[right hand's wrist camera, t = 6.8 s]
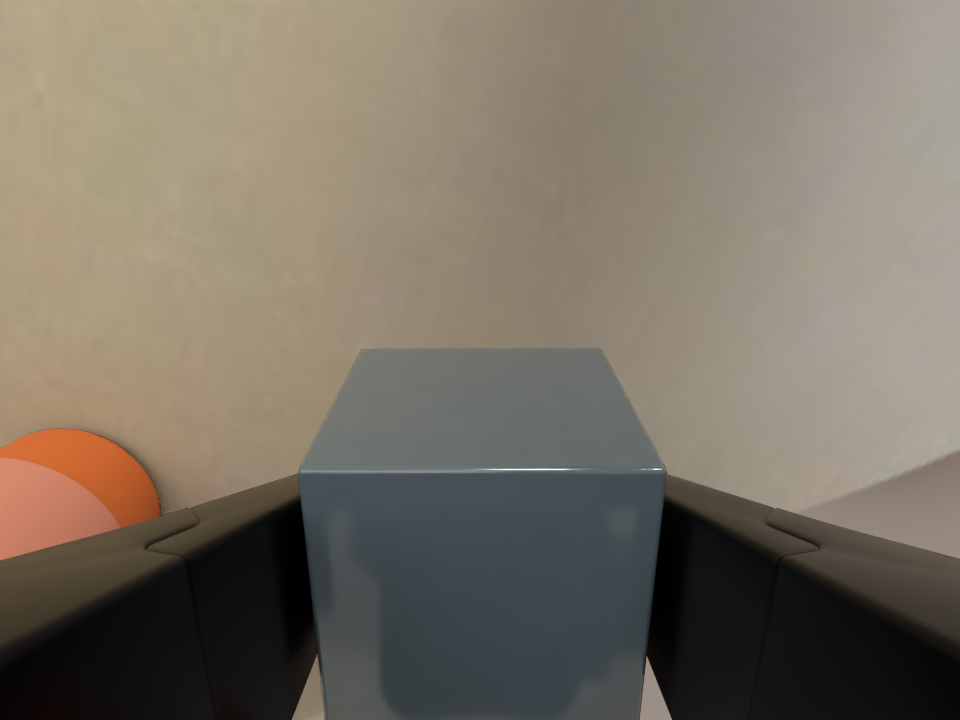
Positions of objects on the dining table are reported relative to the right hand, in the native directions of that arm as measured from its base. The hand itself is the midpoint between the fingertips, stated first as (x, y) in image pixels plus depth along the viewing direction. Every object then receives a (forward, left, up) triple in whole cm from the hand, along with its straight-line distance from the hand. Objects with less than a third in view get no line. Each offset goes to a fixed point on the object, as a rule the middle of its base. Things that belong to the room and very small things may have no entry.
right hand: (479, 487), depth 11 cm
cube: (0, 0, -1) cm, 1 cm away
